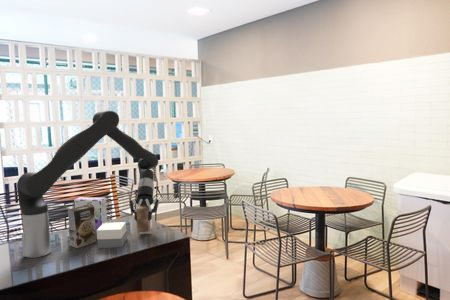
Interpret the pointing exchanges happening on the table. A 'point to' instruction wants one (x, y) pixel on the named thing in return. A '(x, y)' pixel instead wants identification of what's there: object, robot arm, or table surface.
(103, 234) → the tower top slab
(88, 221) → the coffee box
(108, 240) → the tower base slab
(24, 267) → the table surface
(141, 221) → the walnut block
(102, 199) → the candy box
